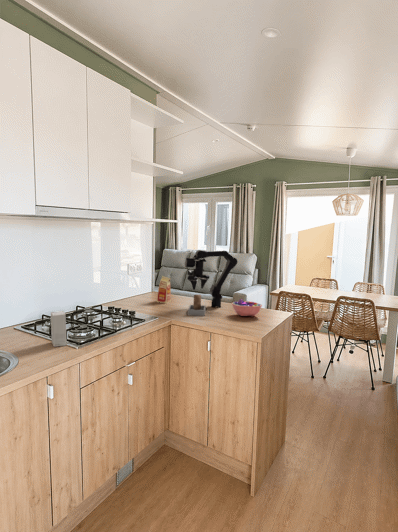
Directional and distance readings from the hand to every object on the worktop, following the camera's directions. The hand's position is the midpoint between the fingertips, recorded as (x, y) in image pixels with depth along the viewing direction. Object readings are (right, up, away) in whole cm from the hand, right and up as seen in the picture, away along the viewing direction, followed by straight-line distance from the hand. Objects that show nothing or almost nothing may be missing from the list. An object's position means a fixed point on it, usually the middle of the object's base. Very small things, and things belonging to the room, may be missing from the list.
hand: (197, 289), depth 246 cm
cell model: (+32, -17, -20) cm, 41 cm away
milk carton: (-26, -11, +15) cm, 32 cm away
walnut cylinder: (-1, -14, -16) cm, 21 cm away
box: (-1, -15, -16) cm, 22 cm away
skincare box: (-65, -20, -86) cm, 110 cm away
